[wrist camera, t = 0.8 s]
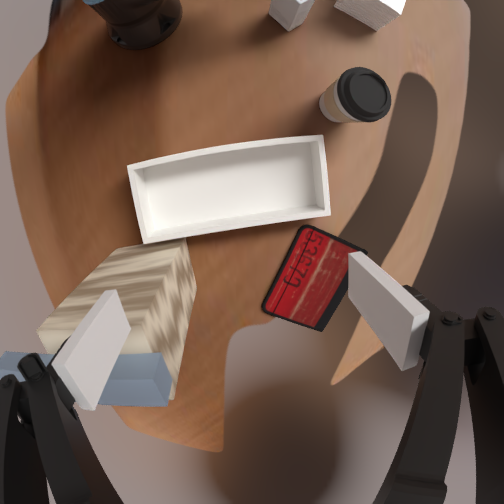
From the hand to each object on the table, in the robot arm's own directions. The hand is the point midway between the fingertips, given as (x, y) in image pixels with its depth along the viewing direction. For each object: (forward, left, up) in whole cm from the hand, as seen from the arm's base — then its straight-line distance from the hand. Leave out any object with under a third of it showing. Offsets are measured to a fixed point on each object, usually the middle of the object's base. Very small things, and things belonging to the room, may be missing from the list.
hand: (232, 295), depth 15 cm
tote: (-2, 0, -39) cm, 39 cm away
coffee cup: (-15, +22, -39) cm, 47 cm away
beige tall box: (+12, -18, -39) cm, 44 cm away
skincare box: (-35, +15, -39) cm, 54 cm away
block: (+12, -22, -9) cm, 26 cm away
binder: (+20, +14, -39) cm, 46 cm away
